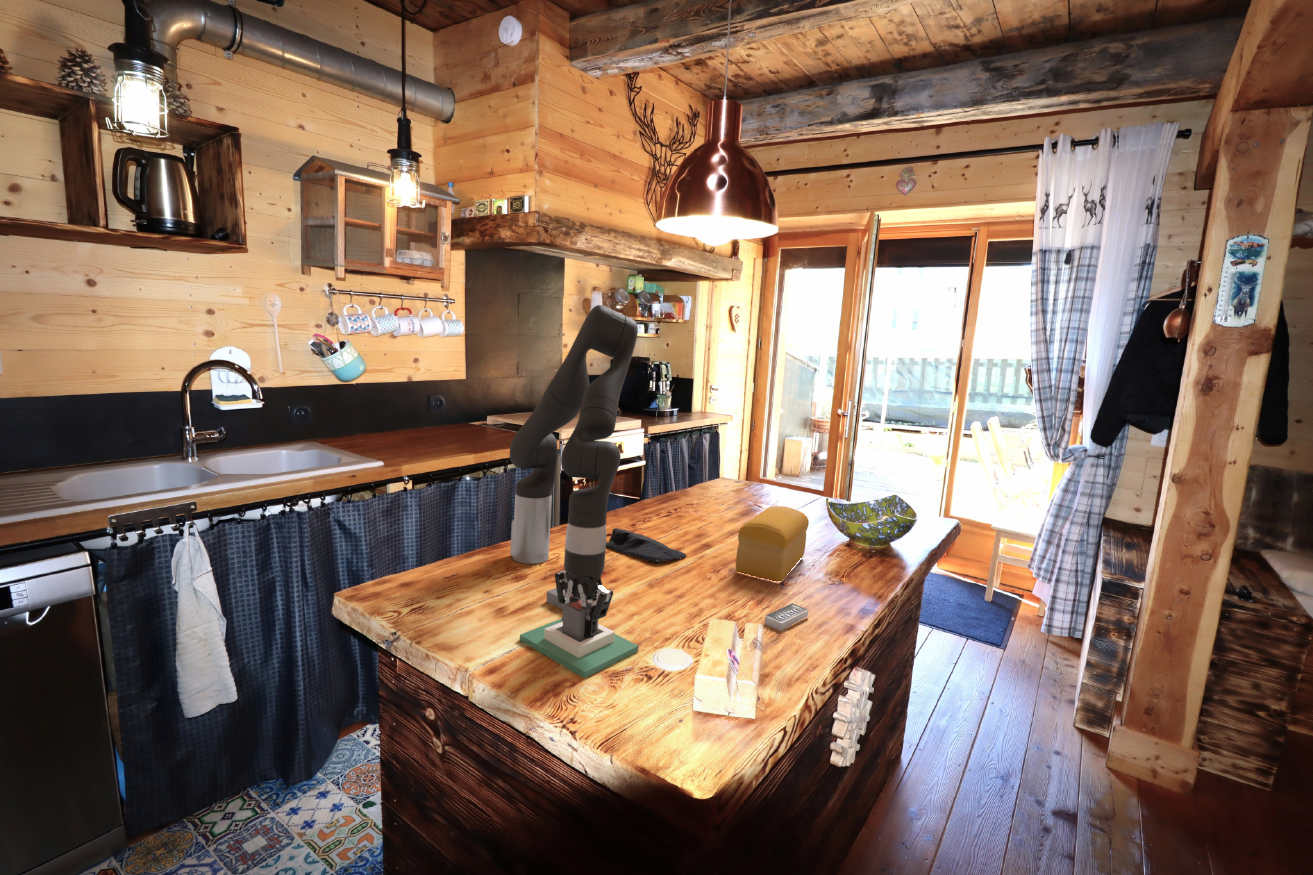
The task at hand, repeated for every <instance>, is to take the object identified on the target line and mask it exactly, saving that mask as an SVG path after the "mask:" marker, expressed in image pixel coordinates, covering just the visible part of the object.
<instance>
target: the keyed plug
mask: <svg viewBox="0 0 1313 875" xmlns="http://www.w3.org/2000/svg"><path fill="white" fill-rule="evenodd" d="M587 601H588V602H589V601H591V600H587ZM590 609H591V612H593V607H592V606H591V608H590ZM562 614H563V616H562V617H563V630H562V633H563V634H565V635H567V636H569V637H571V638H573V639H574V640H576V641H578V642H580V641H583V640H585V639H587V638H586V637H584V630H585V619H586V618H585V610H584V608H583V607H582V604H581V599H578V600H574V601H572V602H568V603H566V604H564V610H563V612H562ZM598 624H599V619H598V620H597V626H596V633H595V634H594V635H596V634H597V633H598Z"/></svg>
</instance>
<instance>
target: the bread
mask: <svg viewBox="0 0 1313 875" xmlns="http://www.w3.org/2000/svg"><path fill="white" fill-rule="evenodd" d="M809 523H810V522H809V518H808V516H807V515H806V514H805V513H804V512H802V511H800V510H798V509H794V508H792V507H789V506H783V505H781V506H780V505H778V506H777V505H773V506H769V507H767V508H765V509H764V510H762V511H761V512H759V513H758V514H757V515H755V516H754V517H753V518H751V519H749V520H748V521H747V522H745V523H744V524H743V525H742V526H741V527H740V528H739V531H738V534H737V540H738V546H737V549H736V550H737V551H736V558H735V570H736V571H737V572H741V573H744V574H749V575H751V576H756V577H759V578H764V579H769V580H772V581H782V580H783V579H784V578H785V577H786V576H787V574H788V573H789V572H790V571H791V569H792V568H793V567H794V566H795V565H796V563H797V562H798V561H799V560H800V558H802V556H803V555H804V554H805V551H806V544H807V532H808V529H809V528H808V527H809ZM803 557H804V556H803ZM736 571H735V572H736Z"/></svg>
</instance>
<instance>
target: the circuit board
mask: <svg viewBox="0 0 1313 875" xmlns="http://www.w3.org/2000/svg"><path fill="white" fill-rule="evenodd" d="M562 630H563V616H562V617H561V618H559V619H557V620H553V621H551V622H549V623H545V624H544V625H541V626H538V627H535V628H534V629H530V630H528V631H526V632H523V633H520V634H519V641H520V642H522V643H524V644H525V645H526V646H529V647H530V648H532V649H534V650H535V651H537V652H539V653H541V654H542V655H544V656H546V657H547V658H549V659H551V660H552V661H554V662H555V663H557V664H558V665H561V666H562V667H564V668H565V669H568V670H570V671H571V672H573V673H574V674H576V675H578V676H579V677H581V678H583V679H587V678H588V677H590V676H593V675H595V674H597V673H598V672H600V671H602V670H604V669H607V668H608V667H610V666H612V665H614V664H616V663H618V662H620V661H623V660H624V659H626V658H628V657H630V656H632V655H634V654H636V653H638V652H639V646H640V645H638V644H636V643H634V642H632V641H630V640H628V639H626V638H624V637H622V636H621V635H618V634H616V633H615V630H614V631H613V630H612V629H610V628H609V627H606V626H603V625H602V624H600V623H598V633H597V634H596V635H594V636H592V637H590V638H587V639H585V640H583V641H580V642H578V641H576V640H574V639H573V638H571V637H569V636H567V635H565V634H563V633H562Z"/></svg>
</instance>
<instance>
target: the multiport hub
mask: <svg viewBox="0 0 1313 875" xmlns="http://www.w3.org/2000/svg"><path fill="white" fill-rule="evenodd" d="M807 616H808V617H809V609H808V608H806V607H803V606H802V605H798V604H796V603H792V602H791V603H789V604H787V605H785V606H782V607H781V608H778V609H777V610H774V611H771V612H770V613H768V614H765V616H764V625H766V626H768V627H770V628H772V629H774V630H776V629H778V630H777V631H779V632H783V631H784V630H783V629H785V628H787V627H789V626H791V625H792V624H794V623H796V622H798V621H799V620H801V619H804V618H805V617H807ZM808 617H807V618H808ZM791 627H792V626H791ZM789 628H790V627H789ZM787 629H788V628H787ZM782 630H783V631H782ZM785 630H786V629H785Z"/></svg>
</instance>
